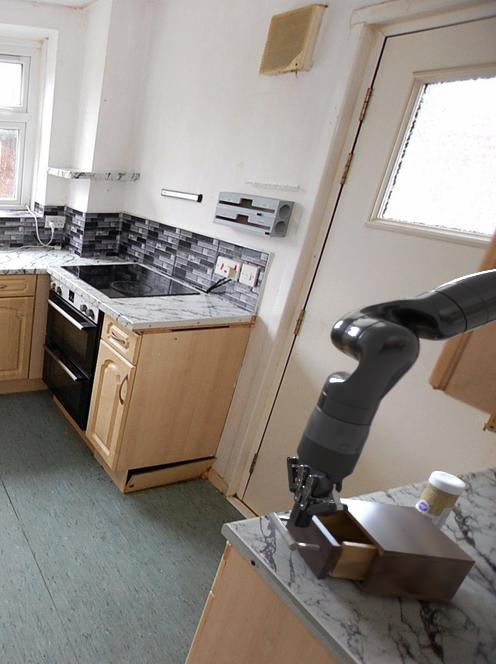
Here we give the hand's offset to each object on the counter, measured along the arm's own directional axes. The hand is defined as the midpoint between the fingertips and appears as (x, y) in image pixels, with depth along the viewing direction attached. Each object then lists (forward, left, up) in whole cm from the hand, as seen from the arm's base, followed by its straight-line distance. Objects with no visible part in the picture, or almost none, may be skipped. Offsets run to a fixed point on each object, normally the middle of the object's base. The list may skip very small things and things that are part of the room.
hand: (297, 524), depth 77 cm
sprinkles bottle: (-30, -9, -7) cm, 33 cm away
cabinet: (-16, 0, -7) cm, 18 cm away
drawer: (-6, 0, -6) cm, 9 cm away
